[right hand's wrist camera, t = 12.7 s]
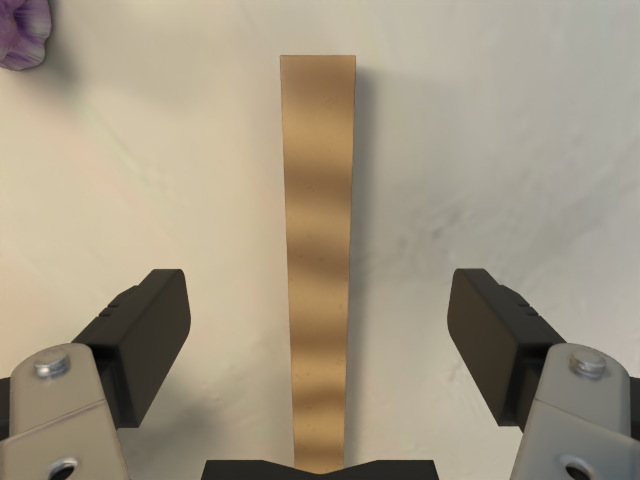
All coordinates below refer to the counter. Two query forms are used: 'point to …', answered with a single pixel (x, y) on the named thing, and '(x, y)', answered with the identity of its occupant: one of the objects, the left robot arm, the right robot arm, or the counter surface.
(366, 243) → the counter surface
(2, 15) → the figurine
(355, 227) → the counter surface
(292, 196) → the post
